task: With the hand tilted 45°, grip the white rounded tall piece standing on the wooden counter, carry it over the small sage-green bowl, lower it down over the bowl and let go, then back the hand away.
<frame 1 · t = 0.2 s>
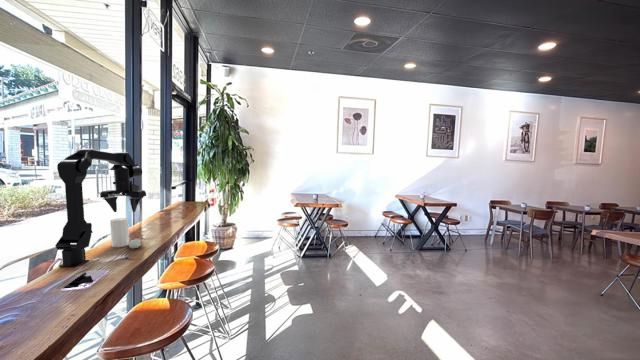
hand: (124, 212, 137), 15 cm above the table, tool pointing down, fingers open, 9 cm apart
sage bowl: (135, 247, 131), on the table
white rounded tall piece: (120, 245, 135), on the table
mobile phone: (86, 281, 97), on the table
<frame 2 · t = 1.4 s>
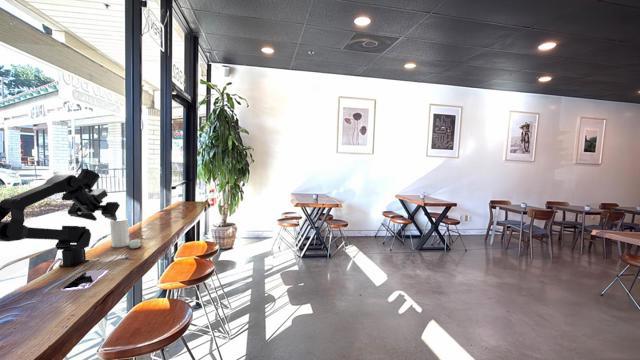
hand: (106, 220, 126), 13 cm above the table, tool tilted 45°, fingers open, 9 cm apart
nothing on the table moved.
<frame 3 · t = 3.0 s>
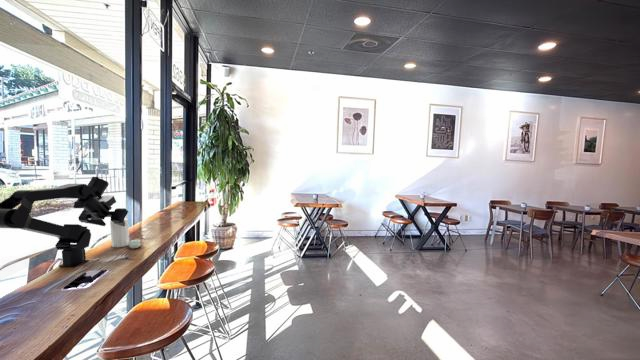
hand: (114, 225, 131), 10 cm above the table, tool tilted 45°, fingers open, 9 cm apart
nothing on the table moved.
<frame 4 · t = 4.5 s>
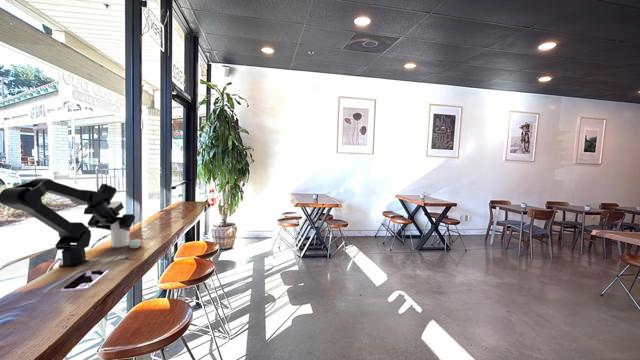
hand: (122, 230, 136), 7 cm above the table, tool tilted 45°, fingers closed on white rounded tall piece, 7 cm apart
white rounded tall piece: (120, 245, 135), on the table, touching gripper
everything else where it was.
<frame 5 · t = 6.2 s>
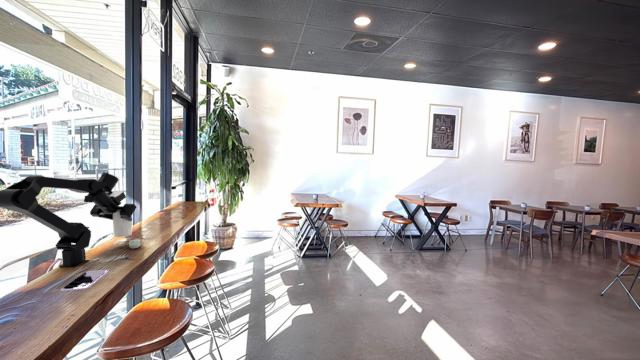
hand: (124, 220, 135), 11 cm above the table, tool tilted 45°, fingers closed on white rounded tall piece, 7 cm apart
white rounded tall piece: (123, 235, 134), point 5 cm above the table, touching gripper
everything else where it was.
when the fingers open (8 cm above the table, at t = 8.2 s): white rounded tall piece drops 1 cm, on the table.
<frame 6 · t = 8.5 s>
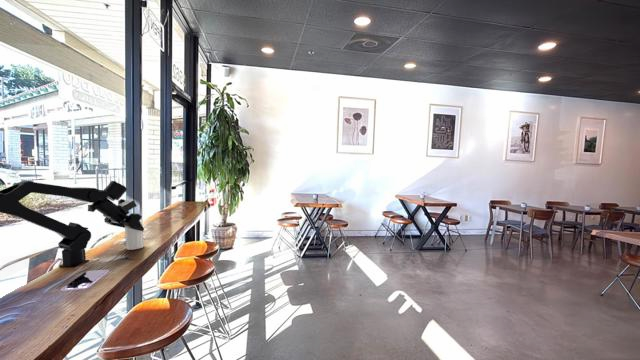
hand: (137, 229, 132), 8 cm above the table, tool tilted 45°, fingers open, 9 cm apart
white rounded tall piece: (135, 247, 131), on the table
everything else where it was.
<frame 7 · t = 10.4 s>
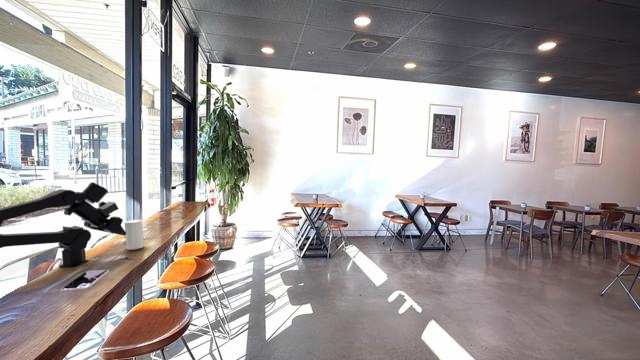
hand: (119, 233, 125), 8 cm above the table, tool tilted 45°, fingers open, 9 cm apart
nothing on the table moved.
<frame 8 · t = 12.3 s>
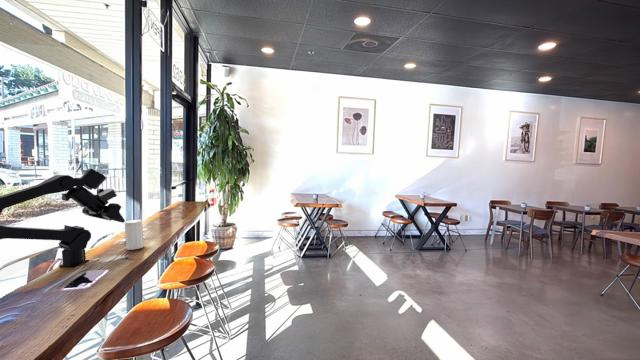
hand: (117, 220, 124), 14 cm above the table, tool tilted 45°, fingers open, 9 cm apart
nothing on the table moved.
at the end: white rounded tall piece 0.0 cm from the sage bowl (horizontally); white rounded tall piece tilted 0°; white rounded tall piece on the table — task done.
